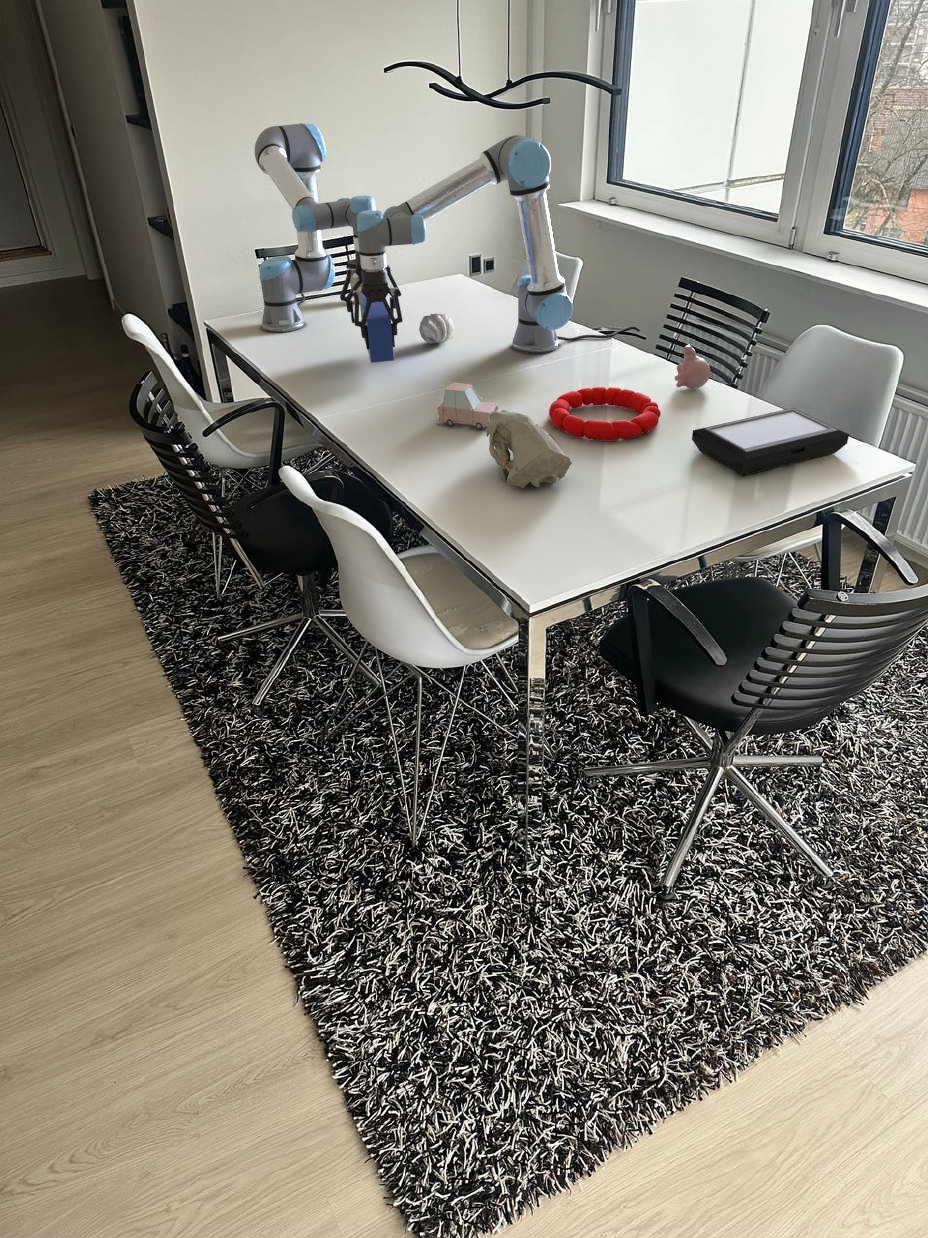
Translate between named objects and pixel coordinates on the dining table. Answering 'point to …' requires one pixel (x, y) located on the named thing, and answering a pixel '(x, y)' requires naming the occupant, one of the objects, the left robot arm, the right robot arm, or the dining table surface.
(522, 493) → the dining table surface
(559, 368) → the dining table surface
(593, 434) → the decorative ring
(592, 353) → the dining table surface
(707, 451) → the electronic device
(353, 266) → the coffee cup
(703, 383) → the figurine
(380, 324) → the box
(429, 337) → the seashell
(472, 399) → the toy car
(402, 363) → the dining table surface
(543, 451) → the animal skull
